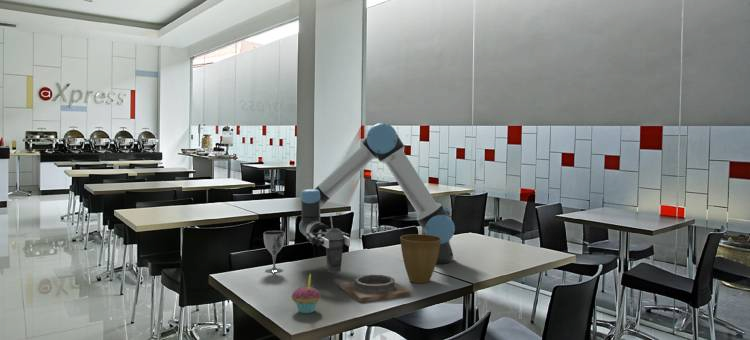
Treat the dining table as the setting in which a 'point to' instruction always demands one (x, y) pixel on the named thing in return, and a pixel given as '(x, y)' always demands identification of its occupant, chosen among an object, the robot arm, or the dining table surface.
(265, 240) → the wine glass
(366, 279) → the ring holder
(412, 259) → the plant pot
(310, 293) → the cupcake
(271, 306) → the dining table surface
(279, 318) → the dining table surface
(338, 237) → the beverage cup
